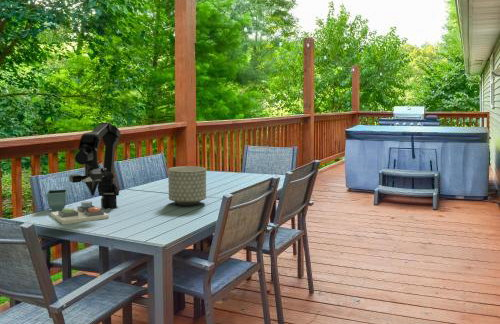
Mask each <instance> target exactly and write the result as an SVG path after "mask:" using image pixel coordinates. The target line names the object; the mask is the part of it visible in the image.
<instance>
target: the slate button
mask: <svg viewBox="0 0 500 324" xmlns="http://www.w3.org/2000/svg"><path fill="white" fill-rule="evenodd" d="M80 203H81V205H80V206H81V208H82V209H86V208H91V207H92V205H93V201H90V200H88V201H82V202H80Z"/></svg>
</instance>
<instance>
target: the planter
mask: <svg viewBox="0 0 500 324" xmlns="http://www.w3.org/2000/svg"><path fill="white" fill-rule="evenodd" d="M167 172H168V175H167V177H168V180H167V181H168V199H169V200H170V201H172V202H174V203H175V204H176V205H177V204H178V205H180V206H194V205H196V204H199V203H200V202H201V201H203V200H206V199H207V168H205V167H203V166H196V165H195V166H193V165H191V166H190V165H185V166H183V165H182V166H173V167H169V168H168V171H167Z"/></svg>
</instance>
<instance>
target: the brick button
mask: <svg viewBox="0 0 500 324" xmlns="http://www.w3.org/2000/svg"><path fill="white" fill-rule="evenodd" d="M99 209H100V207H99V206H95V207H91V208H88V212H89V213H93V212H99Z"/></svg>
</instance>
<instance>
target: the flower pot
mask: <svg viewBox="0 0 500 324" xmlns="http://www.w3.org/2000/svg"><path fill="white" fill-rule="evenodd" d="M46 199H47V204H48V206H49V208H50V210H51V211H52V212H56V211H62V209H64V208H66V204H67V200H68V189H53V190H47V192H46Z"/></svg>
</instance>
